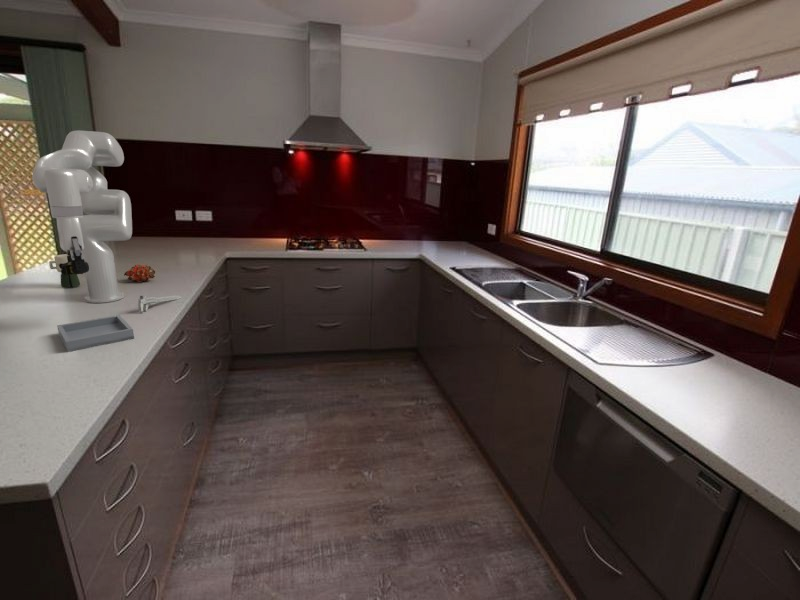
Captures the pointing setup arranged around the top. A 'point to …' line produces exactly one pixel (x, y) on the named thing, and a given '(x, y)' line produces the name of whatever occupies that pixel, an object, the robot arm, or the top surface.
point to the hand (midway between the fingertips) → (77, 269)
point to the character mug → (65, 279)
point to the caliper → (153, 301)
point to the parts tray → (94, 332)
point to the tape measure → (68, 268)
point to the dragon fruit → (140, 273)
